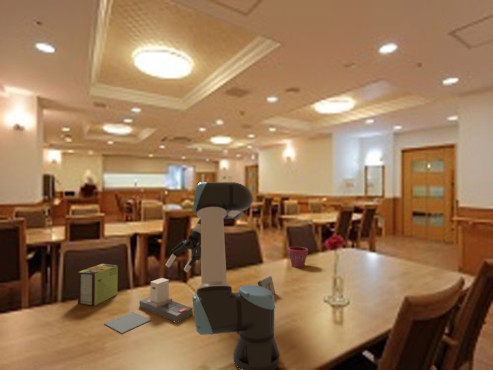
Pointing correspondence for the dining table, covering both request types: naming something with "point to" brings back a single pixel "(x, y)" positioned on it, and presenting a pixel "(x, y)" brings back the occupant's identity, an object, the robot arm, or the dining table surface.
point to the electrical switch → (267, 284)
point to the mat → (127, 322)
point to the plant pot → (298, 256)
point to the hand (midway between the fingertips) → (175, 268)
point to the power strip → (167, 309)
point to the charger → (159, 290)
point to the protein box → (97, 284)
